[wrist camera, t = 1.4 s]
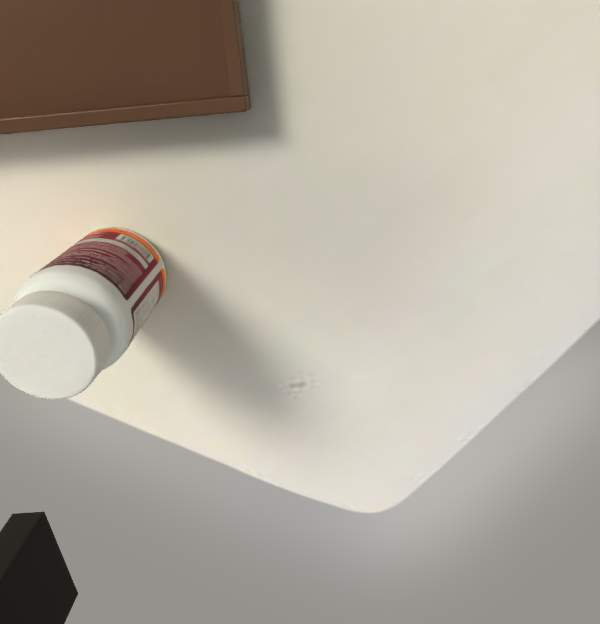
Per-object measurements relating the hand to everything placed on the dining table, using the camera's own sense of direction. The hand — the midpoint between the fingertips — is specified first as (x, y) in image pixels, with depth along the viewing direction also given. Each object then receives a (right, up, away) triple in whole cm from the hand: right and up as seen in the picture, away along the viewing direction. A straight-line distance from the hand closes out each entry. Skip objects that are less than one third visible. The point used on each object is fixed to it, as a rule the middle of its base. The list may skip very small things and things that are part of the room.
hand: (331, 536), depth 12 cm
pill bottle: (-12, +8, +23) cm, 27 cm away
